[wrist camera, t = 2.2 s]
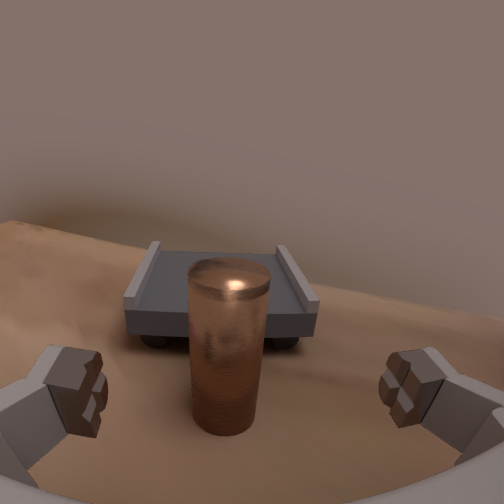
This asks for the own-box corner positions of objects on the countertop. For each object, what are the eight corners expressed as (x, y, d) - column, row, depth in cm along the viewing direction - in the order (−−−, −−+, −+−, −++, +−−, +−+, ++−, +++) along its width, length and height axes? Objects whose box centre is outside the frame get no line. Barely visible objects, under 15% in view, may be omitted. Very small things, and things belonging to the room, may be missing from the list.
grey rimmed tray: (279, 288, 52) (284, 245, 49) (308, 356, 35) (319, 300, 32) (154, 285, 49) (153, 241, 47) (131, 355, 32) (123, 296, 30)
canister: (251, 392, 29) (264, 258, 25) (258, 435, 24) (278, 290, 19) (193, 391, 28) (190, 255, 24) (192, 435, 23) (184, 288, 19)
